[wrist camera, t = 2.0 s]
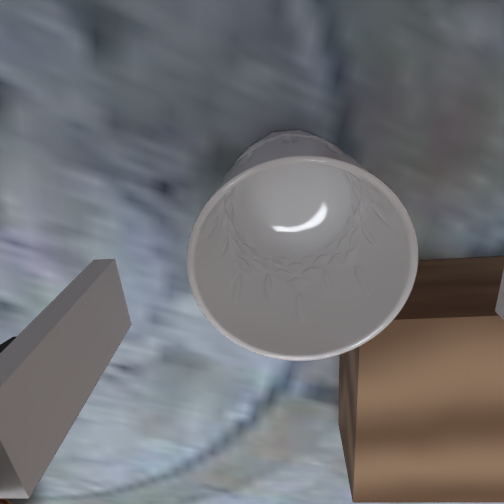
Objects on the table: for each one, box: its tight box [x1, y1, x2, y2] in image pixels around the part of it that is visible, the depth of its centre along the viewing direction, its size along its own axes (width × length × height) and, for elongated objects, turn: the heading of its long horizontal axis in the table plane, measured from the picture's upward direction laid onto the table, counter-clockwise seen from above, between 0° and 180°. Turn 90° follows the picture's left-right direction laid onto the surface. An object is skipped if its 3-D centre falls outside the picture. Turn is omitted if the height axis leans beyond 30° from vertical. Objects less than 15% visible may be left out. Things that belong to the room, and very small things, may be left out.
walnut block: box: [339, 256, 504, 502], centre depth 24 cm, size 14×14×6 cm
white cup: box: [187, 130, 418, 361], centre depth 18 cm, size 8×8×10 cm
